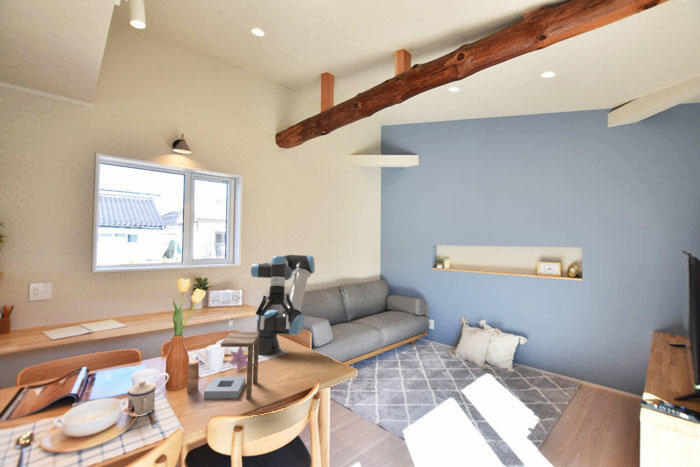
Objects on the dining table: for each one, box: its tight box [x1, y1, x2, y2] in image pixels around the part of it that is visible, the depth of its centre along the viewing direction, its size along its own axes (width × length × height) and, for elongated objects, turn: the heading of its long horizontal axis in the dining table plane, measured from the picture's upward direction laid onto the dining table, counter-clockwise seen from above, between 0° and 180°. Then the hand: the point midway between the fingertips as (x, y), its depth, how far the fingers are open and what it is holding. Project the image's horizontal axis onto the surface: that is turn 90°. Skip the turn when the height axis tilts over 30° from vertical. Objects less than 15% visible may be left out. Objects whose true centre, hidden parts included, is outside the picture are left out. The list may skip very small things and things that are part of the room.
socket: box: [203, 376, 246, 399], centre depth 148 cm, size 14×14×3 cm
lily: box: [229, 347, 248, 372], centre depth 172 cm, size 12×12×10 cm
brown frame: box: [220, 331, 259, 400], centre depth 148 cm, size 16×13×24 cm
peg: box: [186, 360, 200, 394], centre depth 147 cm, size 4×4×12 cm
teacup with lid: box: [127, 380, 156, 415], centre depth 128 cm, size 12×9×12 cm
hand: (274, 329), depth 165 cm, fingers open, 13 cm apart
